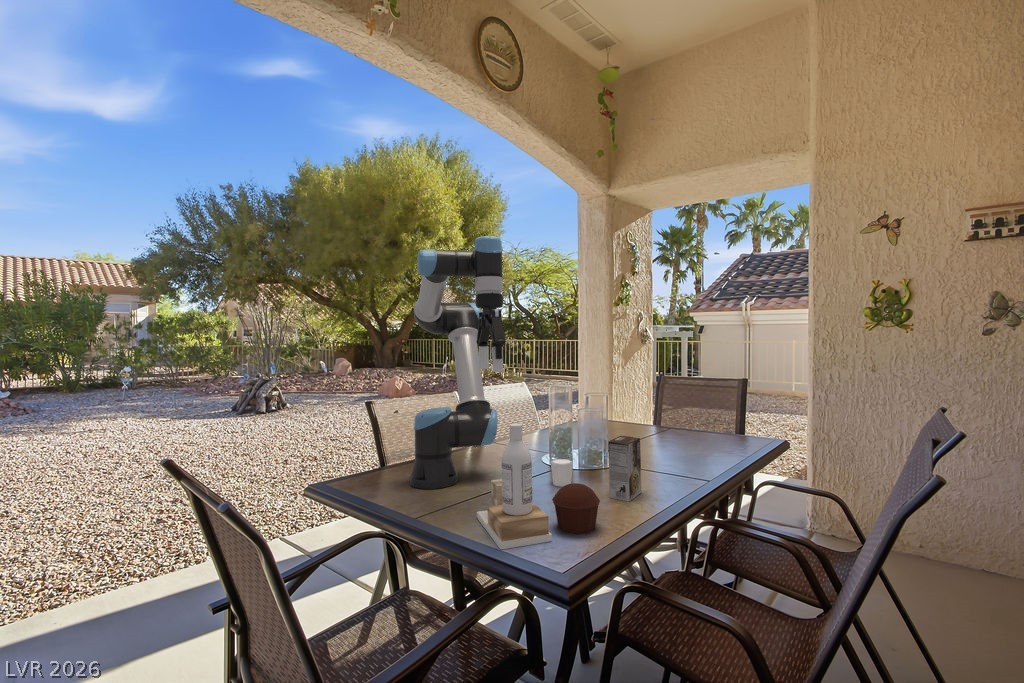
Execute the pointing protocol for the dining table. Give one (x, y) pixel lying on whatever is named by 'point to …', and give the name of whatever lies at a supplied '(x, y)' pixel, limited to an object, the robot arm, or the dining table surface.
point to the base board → (483, 519)
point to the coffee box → (624, 468)
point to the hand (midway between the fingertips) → (490, 370)
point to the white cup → (561, 472)
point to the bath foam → (516, 475)
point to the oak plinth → (518, 523)
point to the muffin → (576, 509)
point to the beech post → (496, 492)
